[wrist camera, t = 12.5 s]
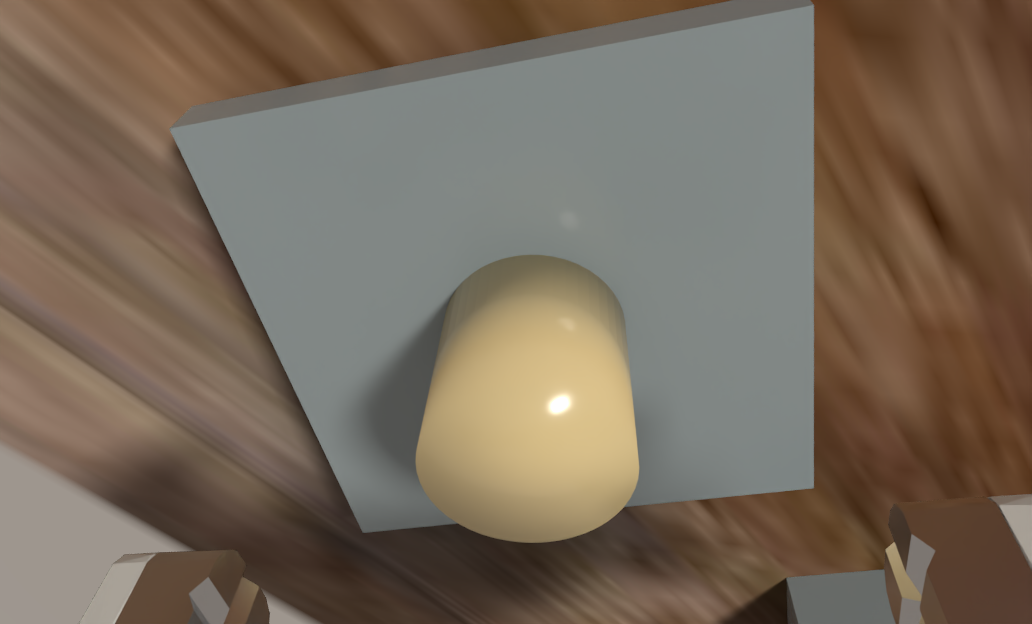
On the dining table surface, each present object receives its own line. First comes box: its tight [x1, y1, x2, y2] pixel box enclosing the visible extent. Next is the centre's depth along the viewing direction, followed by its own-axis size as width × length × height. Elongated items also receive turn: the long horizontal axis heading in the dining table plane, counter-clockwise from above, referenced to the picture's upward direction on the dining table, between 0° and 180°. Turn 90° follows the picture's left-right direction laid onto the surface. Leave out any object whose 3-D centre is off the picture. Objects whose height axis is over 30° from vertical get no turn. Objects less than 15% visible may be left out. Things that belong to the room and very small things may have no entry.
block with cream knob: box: [170, 0, 814, 543], centre depth 15 cm, size 10×10×6 cm
